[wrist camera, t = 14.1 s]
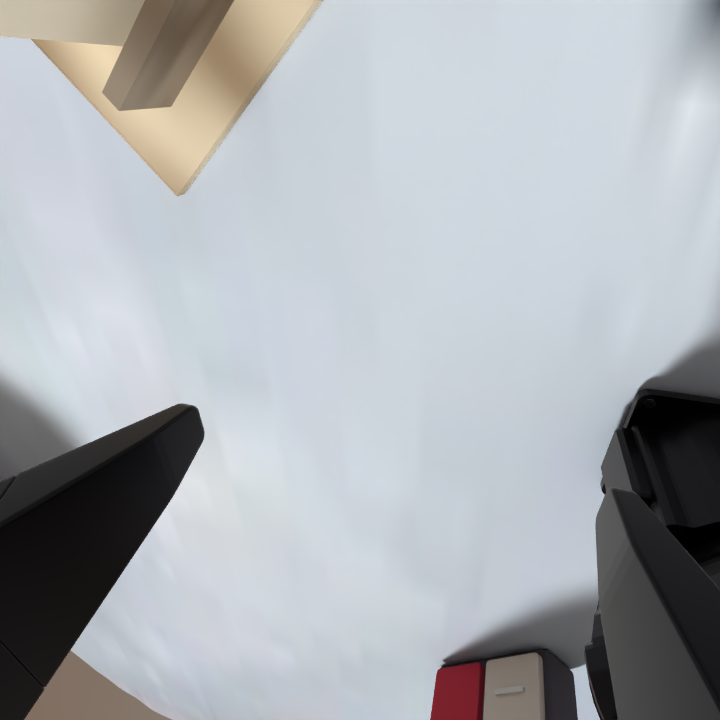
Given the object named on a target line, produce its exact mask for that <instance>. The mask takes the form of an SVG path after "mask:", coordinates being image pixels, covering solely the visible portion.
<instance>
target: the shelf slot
mask: <svg viewBox="0 0 720 720" xmlns="http://www.w3.org/2000/svg"><path fill="white" fill-rule="evenodd" d="M322 1H323V0H145V1H144V3H143V6H142V8H141V10H140V12H139V14H138V16H137V18H136V20H135V23H134V25H133V27H132V29H131V31H130V33H129V35H128V38H127V40H126V42H125V44H124V46H112V45H100V44H88V43H76V42H64V41H52V40H39V39H31V40H32V41H33V42H34V43H35V44H36V45H37V46H38V47H39V48H40V49H41V50H42V52H43V53H44V54H45V55H46V56H47V57H48V58H49V59H50V60H51V61H52V62H53V63H54V64H55V66H56V67H57V68H58V69H59V70H60V71H61V72H62V73H63V74H64V75H65V76H66V77H67V78H68V80H69V81H70V82H71V83H72V84H73V85H74V86H75V87H76V88H77V89H78V90H79V91H80V92H81V94H82V95H83V96H84V97H85V98H86V99H87V100H88V101H89V102H90V103H91V104H92V105H93V106H94V108H95V109H96V110H97V111H98V112H99V113H100V114H101V115H102V116H103V117H104V118H105V119H106V120H107V121H108V123H109V124H110V125H111V126H112V127H113V128H114V129H115V130H116V131H117V132H118V133H119V134H120V135H121V137H122V138H123V139H124V140H125V141H126V142H127V143H128V144H129V145H130V146H131V147H132V148H133V149H134V151H135V152H136V153H137V154H138V155H139V156H140V157H141V158H142V159H143V160H144V161H145V162H146V163H147V165H148V166H149V167H150V168H151V169H152V170H153V171H154V172H155V173H156V174H157V175H158V176H159V177H160V179H161V180H162V181H163V182H164V183H165V184H166V185H167V186H168V187H169V188H170V189H171V190H172V191H173V193H174V194H175V195H176V196H179V195H182V194H185V193H186V191H187V190H188V188H189V187H190V186H191V184H192V183H193V181H194V180H195V179H196V177H197V176H198V174H199V173H200V172H201V170H202V169H203V167H204V166H205V165H206V163H207V162H208V160H209V159H210V158H211V156H212V155H213V153H214V152H215V151H216V149H217V148H218V146H219V145H220V144H221V142H222V141H223V139H224V138H225V137H226V135H227V134H228V132H229V131H230V130H231V128H232V127H233V125H234V124H235V123H236V121H237V120H238V118H239V117H240V116H241V114H242V113H243V111H244V110H245V109H246V107H247V106H248V104H249V103H250V102H251V100H252V99H253V97H254V96H255V95H256V93H257V92H258V90H259V89H260V88H261V86H262V85H263V83H264V82H265V81H266V79H267V78H268V76H269V75H270V74H271V72H272V71H273V69H274V68H275V67H276V65H277V64H278V62H279V61H280V60H281V58H282V57H283V55H284V54H285V53H286V51H287V50H288V48H289V47H290V46H291V44H292V43H293V41H294V40H295V39H296V37H297V36H298V34H299V33H300V32H301V30H302V29H303V27H304V26H305V25H306V23H307V22H308V20H309V19H310V18H311V16H312V15H313V13H314V12H315V11H316V9H317V8H318V6H319V5H320V4H321V2H322Z"/></svg>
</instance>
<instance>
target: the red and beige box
mask: <svg viewBox="0 0 720 720" xmlns="http://www.w3.org/2000/svg"><path fill="white" fill-rule="evenodd" d="M430 720H578V717H577V707H576V696H575V685H574V676H573V673H572V671H571V670H570V669H569V668H567V667H566V666H565V665H564V664H563V663H562V662H560V661H559V660H558V659H557V658H556V657H555V656H553V655H552V654H551V653H550V652H549V651H547V650H545V649H543V650H537V651H531V652H525V653H520V654H514V655H508V656H503V657H497V658H491V659H486V660H480V661H474V662H469V663H463V664H458V665H452V666H446V667H442V668H440V669H439V670H438V671H437V675H436V682H435V690H434V697H433V704H432V712H431V719H430Z"/></svg>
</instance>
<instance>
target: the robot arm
mask: <svg viewBox="0 0 720 720" xmlns="http://www.w3.org/2000/svg"><path fill="white" fill-rule="evenodd" d="M648 399H653V401H652V402H650V403H644V401H645V400H648ZM203 439H204V428H203V425H202V421H201V417H200V414H199V411H198V409H197V408H196V407H195V406H193V405H188V404H177V405H175V406H172V407H170V408H168V409H165V410H163V411H161V412H159V413H156V414H154V415H152V416H150V417H147V418H145V419H143V420H140V421H138V422H136V423H134V424H131V425H129V426H127V427H124V428H122V429H120V430H118V431H115V432H113V433H111V434H108V435H106V436H104V437H102V438H99V439H97V440H95V441H93V442H90V443H88V444H86V445H83V446H81V447H79V448H77V449H74V450H72V451H70V452H67V453H65V454H63V455H61V456H58V457H56V458H54V459H51V460H49V461H47V462H45V463H42V464H40V465H38V466H36V467H33V468H31V469H29V470H26V471H24V472H22V473H20V474H18V475H17V476H12V477H10V478H8V479H6V480H3V481H1V482H0V720H24V719H25V718H26V716H27V715H28V713H29V712H30V710H31V709H32V707H33V705H34V704H35V703H36V701H37V700H38V698H39V697H40V695H41V694H42V692H43V691H44V687H46V686H47V684H48V683H49V681H50V680H51V678H52V677H53V675H54V674H55V672H56V670H57V669H58V668H59V666H60V665H61V663H62V662H63V660H64V659H65V657H66V656H67V654H68V653H69V651H70V650H71V648H72V647H73V645H74V644H75V642H76V641H77V639H78V638H79V636H80V635H81V633H82V632H83V630H84V629H85V628H86V626H87V625H88V623H89V622H90V620H91V619H92V617H93V616H94V614H95V613H96V611H97V610H98V608H99V607H100V605H101V604H102V602H103V601H104V599H105V598H106V596H107V595H108V593H109V592H110V590H111V589H112V587H113V586H114V584H115V583H116V581H117V580H118V578H119V577H120V575H121V574H122V572H123V571H124V569H125V568H126V566H127V565H128V563H129V562H130V560H131V559H132V557H133V556H134V554H135V553H136V551H137V550H138V548H139V547H140V545H141V544H142V542H143V541H144V539H145V538H146V536H147V535H148V533H149V532H150V530H151V529H152V527H153V526H154V524H155V523H156V521H157V520H158V518H159V517H160V515H161V514H162V512H163V511H164V509H165V508H166V506H167V505H168V503H169V502H170V500H171V499H172V497H173V496H174V494H175V492H176V490H177V489H178V487H179V485H180V483H181V481H182V479H183V478H184V476H185V474H186V472H187V470H188V468H189V466H190V464H191V463H192V461H193V459H194V457H195V455H196V453H197V451H198V450H199V448H200V446H201V444H202V442H203ZM601 470H602V474H603V478H602V480H601V489H602V492H603V493H604V494H605V497H604V499H603V502H602V504H601V506H600V509H599V511H598V514H597V517H596V547H597V569H598V591H599V601H598V607H597V612H596V614H595V615H594V625H593V634H592V641H591V643H588V644H586V646H585V654H584V656H585V662H586V668H587V673H588V679H589V686H590V690H591V693H592V697H593V701H594V704H595V707H596V709H597V712H598V715H599V717H600V720H720V399H716V398H709V397H702V396H695V395H688V394H681V393H673V392H666V391H659V390H652V389H646V390H642V391H640V392H639V393H637V394H636V396H635V398H634V400H633V403H632V405H631V408H630V410H629V413H628V415H627V418H626V420H625V423H624V425H623V427H620V428H618V429H617V430H615V432H614V435H613V437H612V440H611V442H610V445H609V448H608V450H607V453H606V455H605V458H604V460H603V463H602V466H601Z"/></svg>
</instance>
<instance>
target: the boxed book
mask: <svg viewBox="0 0 720 720" xmlns="http://www.w3.org/2000/svg"><path fill="white" fill-rule="evenodd" d="M144 1H145V0H0V36H3V37H15V38H27V39H39V40H52V41H64V42H76V43H88V44H100V45H112V46H124V44H125V42H126V40H127V38H128V35H129V33H130V31H131V29H132V27H133V25H134V23H135V20H136V18H137V16H138V14H139V12H140V10H141V8H142V6H143V3H144Z"/></svg>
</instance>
